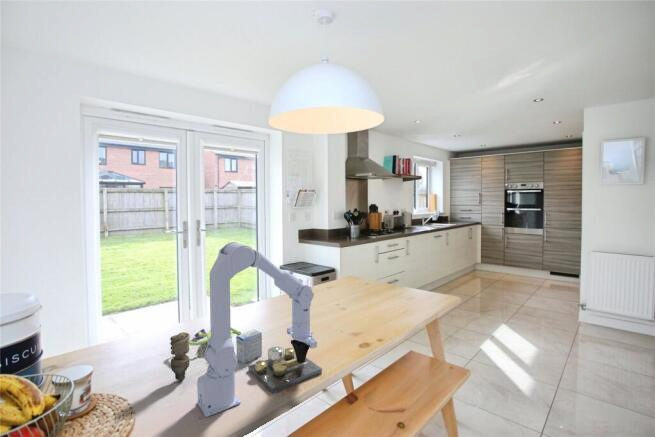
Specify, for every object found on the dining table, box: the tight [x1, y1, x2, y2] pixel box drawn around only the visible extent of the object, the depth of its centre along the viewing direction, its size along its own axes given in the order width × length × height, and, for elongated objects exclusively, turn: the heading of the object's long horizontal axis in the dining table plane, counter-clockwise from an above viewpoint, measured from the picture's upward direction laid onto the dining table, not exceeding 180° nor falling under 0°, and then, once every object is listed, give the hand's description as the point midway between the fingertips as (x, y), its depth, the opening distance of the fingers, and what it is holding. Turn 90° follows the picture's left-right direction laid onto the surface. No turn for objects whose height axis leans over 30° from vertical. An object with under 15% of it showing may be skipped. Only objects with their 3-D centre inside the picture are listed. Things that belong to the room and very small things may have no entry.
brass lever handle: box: [273, 358, 305, 376], centre depth 104 cm, size 11×4×3 cm, turn 128°
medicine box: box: [235, 329, 263, 364], centre depth 115 cm, size 8×4×9 cm, turn 141°
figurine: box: [189, 326, 242, 346], centre depth 124 cm, size 18×27×6 cm
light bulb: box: [169, 331, 191, 382], centre depth 100 cm, size 6×6×15 cm
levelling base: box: [248, 346, 323, 394], centre depth 105 cm, size 18×16×7 cm
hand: (301, 361), depth 105 cm, fingers closed
